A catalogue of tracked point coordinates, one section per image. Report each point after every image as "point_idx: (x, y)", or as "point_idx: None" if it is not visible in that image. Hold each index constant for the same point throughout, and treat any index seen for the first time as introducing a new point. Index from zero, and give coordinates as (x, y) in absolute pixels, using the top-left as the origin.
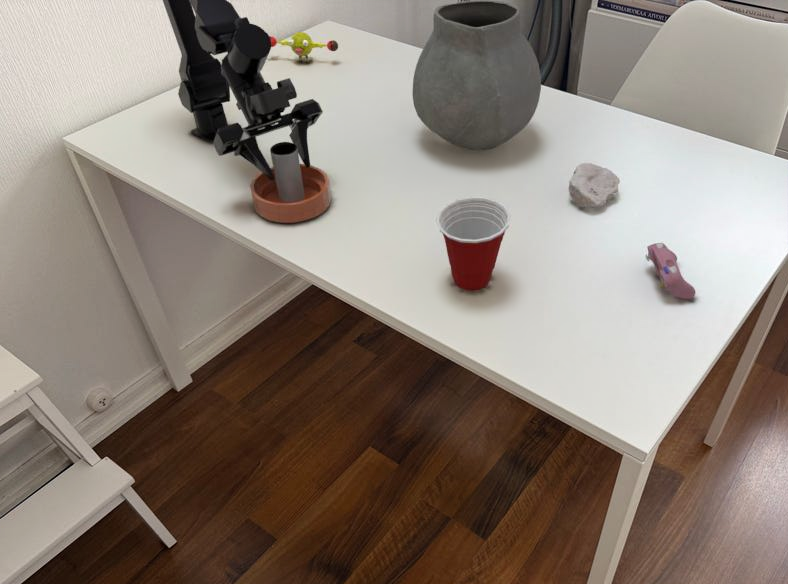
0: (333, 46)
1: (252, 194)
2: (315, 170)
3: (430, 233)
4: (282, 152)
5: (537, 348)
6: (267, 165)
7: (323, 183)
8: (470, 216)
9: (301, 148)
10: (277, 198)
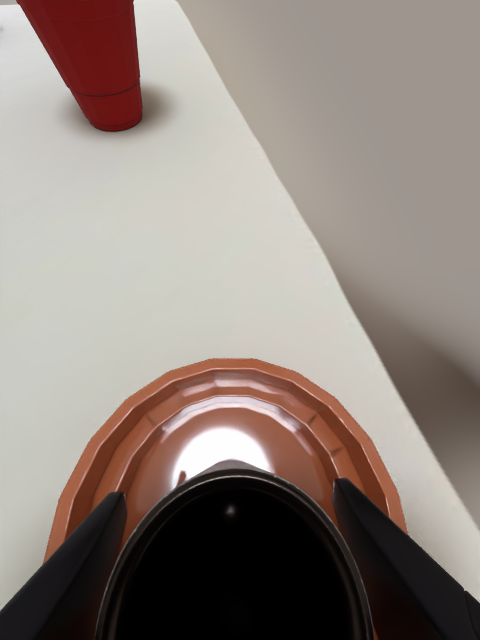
0: None
1: None
2: None
3: (61, 205)
4: None
5: (153, 48)
6: (389, 544)
7: (94, 500)
8: (30, 7)
9: (52, 637)
10: None
